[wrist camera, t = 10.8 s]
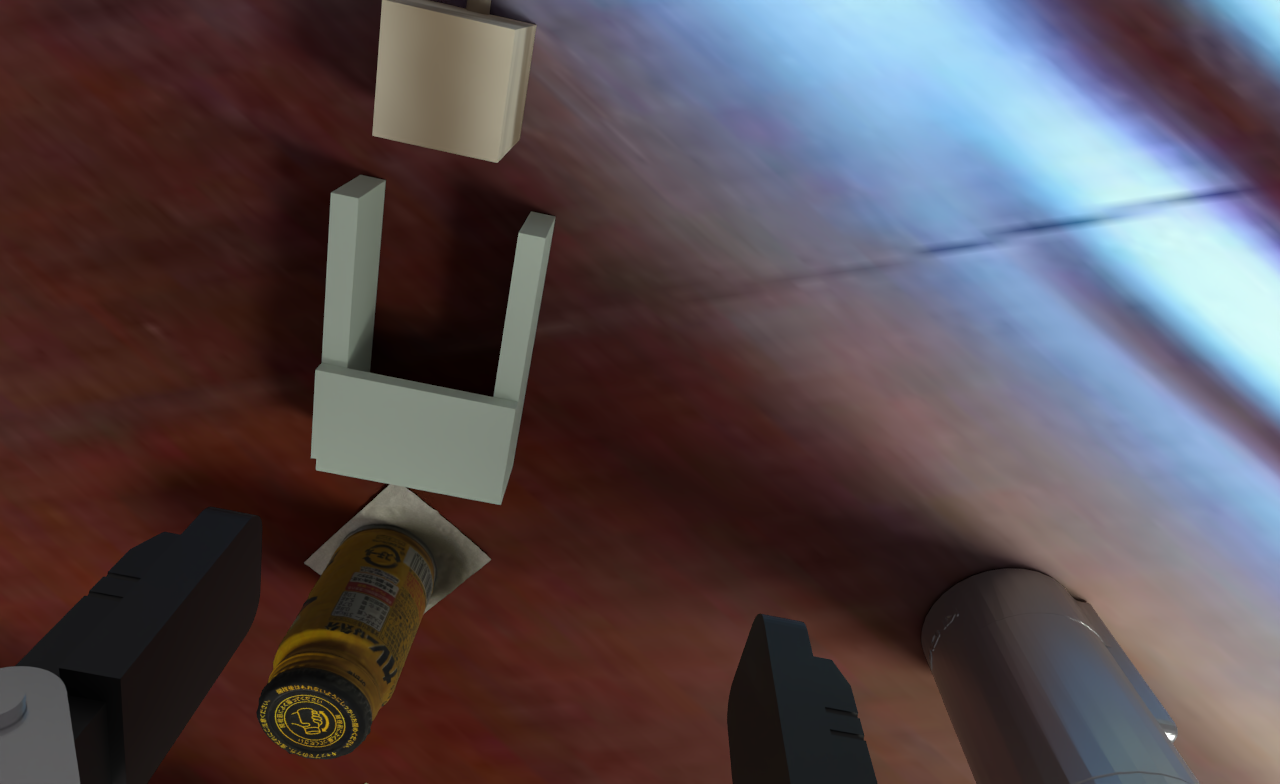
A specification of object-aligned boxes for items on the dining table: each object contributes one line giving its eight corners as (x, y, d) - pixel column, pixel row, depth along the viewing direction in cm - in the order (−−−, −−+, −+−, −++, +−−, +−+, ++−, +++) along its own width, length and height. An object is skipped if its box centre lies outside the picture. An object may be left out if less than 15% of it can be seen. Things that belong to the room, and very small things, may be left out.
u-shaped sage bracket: (555, 216, 41) (543, 243, 36) (512, 465, 47) (498, 513, 42) (360, 174, 40) (324, 196, 36) (342, 432, 46) (309, 478, 42)
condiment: (305, 560, 50) (206, 719, 39) (396, 477, 47) (318, 621, 36) (400, 631, 52) (332, 800, 41) (492, 556, 49) (445, 714, 38)
